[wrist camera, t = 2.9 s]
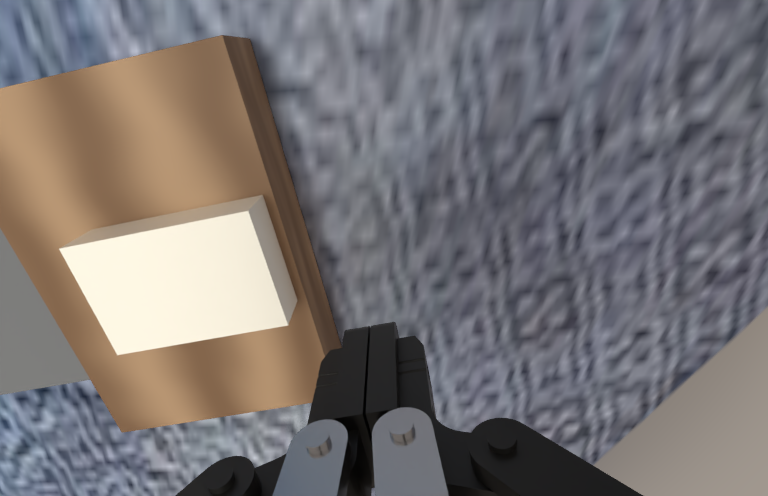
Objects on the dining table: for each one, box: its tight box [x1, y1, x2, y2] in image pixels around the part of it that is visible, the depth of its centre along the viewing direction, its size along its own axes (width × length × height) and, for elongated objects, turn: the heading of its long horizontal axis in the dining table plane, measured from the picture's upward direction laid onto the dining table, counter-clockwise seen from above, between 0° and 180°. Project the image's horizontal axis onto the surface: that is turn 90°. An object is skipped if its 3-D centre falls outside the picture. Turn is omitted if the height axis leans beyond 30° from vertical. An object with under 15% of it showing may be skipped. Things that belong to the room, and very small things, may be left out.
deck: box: [0, 35, 342, 432], centre depth 25 cm, size 14×20×4 cm
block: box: [59, 195, 297, 355], centre depth 22 cm, size 9×6×2 cm, turn 102°
